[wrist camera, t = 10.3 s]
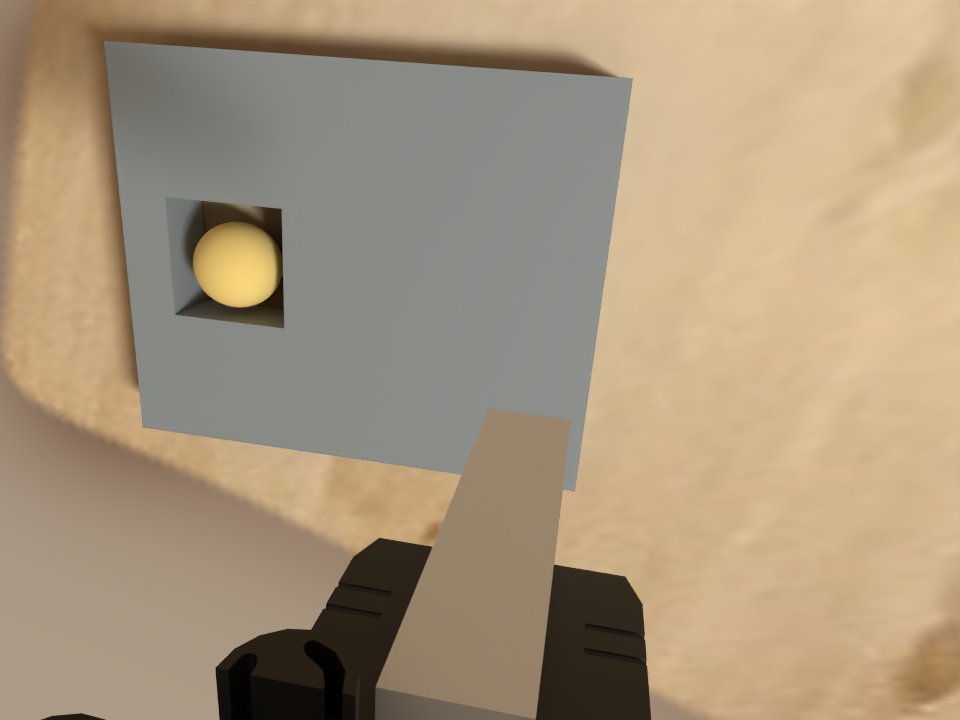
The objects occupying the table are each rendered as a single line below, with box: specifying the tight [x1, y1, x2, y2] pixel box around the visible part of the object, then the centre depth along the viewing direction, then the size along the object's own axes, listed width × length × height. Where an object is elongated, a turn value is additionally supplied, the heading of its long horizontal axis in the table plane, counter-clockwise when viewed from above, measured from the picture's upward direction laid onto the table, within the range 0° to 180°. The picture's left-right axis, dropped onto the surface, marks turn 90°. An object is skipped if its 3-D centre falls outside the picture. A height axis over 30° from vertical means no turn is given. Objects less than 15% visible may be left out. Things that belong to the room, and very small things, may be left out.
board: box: [104, 41, 633, 491], centre depth 32 cm, size 18×22×3 cm
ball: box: [193, 222, 283, 307], centre depth 32 cm, size 4×4×4 cm
